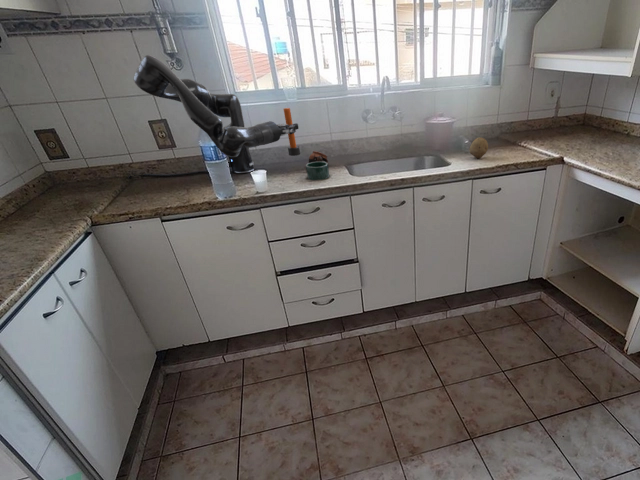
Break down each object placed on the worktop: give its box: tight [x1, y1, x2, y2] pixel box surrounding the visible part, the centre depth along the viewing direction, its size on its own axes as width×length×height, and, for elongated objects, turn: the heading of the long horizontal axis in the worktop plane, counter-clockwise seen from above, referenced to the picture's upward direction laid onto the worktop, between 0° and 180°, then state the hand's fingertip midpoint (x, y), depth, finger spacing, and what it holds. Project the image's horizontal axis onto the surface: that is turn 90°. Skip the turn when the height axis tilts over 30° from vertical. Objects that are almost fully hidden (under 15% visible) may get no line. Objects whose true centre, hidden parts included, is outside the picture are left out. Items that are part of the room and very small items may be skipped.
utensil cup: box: [305, 161, 330, 181], centre depth 173 cm, size 10×10×6 cm
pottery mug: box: [307, 150, 329, 164], centre depth 187 cm, size 12×10×8 cm
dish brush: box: [283, 107, 301, 157], centre depth 161 cm, size 5×5×18 cm
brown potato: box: [468, 137, 489, 159], centre depth 190 cm, size 9×9×10 cm
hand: (294, 125), depth 162 cm, fingers closed on dish brush, 2 cm apart
